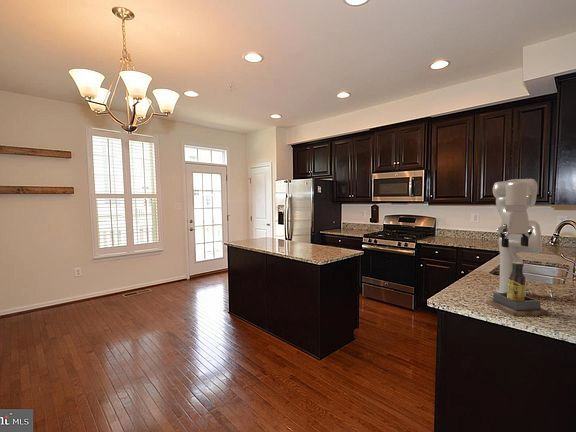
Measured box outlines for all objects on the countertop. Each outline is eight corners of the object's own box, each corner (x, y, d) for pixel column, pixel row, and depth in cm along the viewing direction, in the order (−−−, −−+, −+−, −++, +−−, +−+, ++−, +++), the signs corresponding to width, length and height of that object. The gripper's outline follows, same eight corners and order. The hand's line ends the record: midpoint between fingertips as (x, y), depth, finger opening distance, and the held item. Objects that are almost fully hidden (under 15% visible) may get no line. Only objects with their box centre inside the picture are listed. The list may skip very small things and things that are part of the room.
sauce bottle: (503, 303, 133) (504, 261, 132) (515, 302, 134) (516, 260, 133) (515, 308, 127) (516, 264, 126) (528, 307, 127) (529, 263, 126)
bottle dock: (517, 301, 138) (517, 290, 138) (547, 314, 123) (548, 301, 123) (486, 303, 137) (486, 292, 137) (513, 316, 122) (513, 303, 122)
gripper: (525, 208, 133) (524, 244, 134) (491, 209, 132) (490, 246, 133) (541, 208, 126) (540, 247, 127) (505, 210, 124) (504, 248, 125)
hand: (514, 246), depth 130 cm, fingers open, 9 cm apart
